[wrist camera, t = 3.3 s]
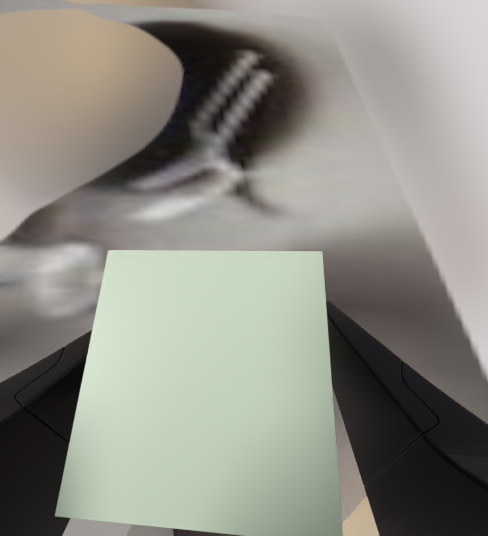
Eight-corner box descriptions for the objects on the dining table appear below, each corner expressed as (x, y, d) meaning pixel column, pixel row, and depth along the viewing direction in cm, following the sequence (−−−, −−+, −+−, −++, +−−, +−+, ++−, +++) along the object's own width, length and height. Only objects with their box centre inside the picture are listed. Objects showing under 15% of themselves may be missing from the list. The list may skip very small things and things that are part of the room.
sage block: (273, 360, 14) (343, 545, 3) (213, 357, 15) (54, 516, 3) (272, 299, 16) (321, 251, 4) (217, 298, 16) (108, 250, 4)
